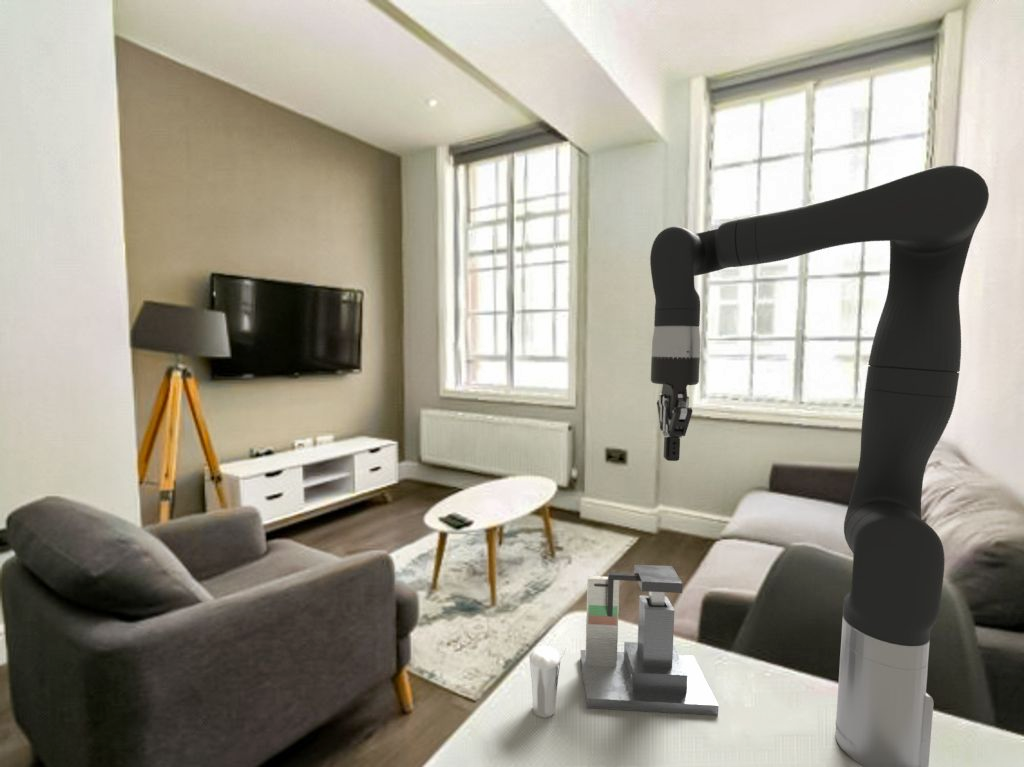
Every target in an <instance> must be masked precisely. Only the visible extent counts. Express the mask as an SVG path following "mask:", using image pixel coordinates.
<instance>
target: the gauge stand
mask: <svg viewBox="0 0 1024 767" xmlns="http://www.w3.org/2000/svg"><path fill="white" fill-rule="evenodd" d="M620 581H621V580H614V584H613V614H612V617H609V616H607V582H608V576H599V575H597V576H596V575H587V589H586V590H587V591H586V617H585V618H586V619H585V620H586V625H585V627H586V628H585V649H581V650H580V665H581V672H582V673H581V674H582V679H583V680H582V681H583V687H584V694H585V702H586V709H598V710H599V709H601V710H614V711H615V710H617V711H634V712H650V713H651V712H655V713H669V714H670V713H671V714H686V715H687V714H688V715H689V714H690V715H706V716H707V715H708V716H719V704H718V702H717V700H716V698H715V695H714V694H713V692H712V690H711V688H710V686H709V684H708V682H707V680H706V678H705V676H704V674H703V671H702V670H701V668H700V666H699V664H698V662H697V660H696V658H695V656H694V655H688V654H687V655H686V654H679V653H678V652H677V649H676V647H675V646H674V629H675V628H674V627H675V609H674V607H673V605H672V603H671V602H670V600H669V598H668V595H667V596H666V595H665V606H664V607H649V605H648V602H649V595H641V594H640V595H639V596H638V597H639V599H638V600H639V601H638V622H637V623H638V626H637V628H638V629H637V642H635V641H633V642H632V641H624V644H623V645H624V647H623V648H624V649H623V651H618V640H619V639H618V635H619V633H618V632H619V610H620V609H619V608H620V607H619V605H620Z"/></svg>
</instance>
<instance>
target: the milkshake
mask: <svg viewBox="0 0 1024 767" xmlns="http://www.w3.org/2000/svg"><path fill="white" fill-rule="evenodd" d="M566 650H567V648H565V649H564V651H563V653H562V655H561V654H560V652H558V650H557V649H555V648H554V647H551V646H549V645H539V646H535V647H534V648H533V649H532V651H530V654H529V665H530V666H529V667H530V668H529V669H530V677H531V690H532V691H531V693H532V710H533V711H532V712H533V713H534V714H535V715H536V716H537V717H540V718H545V719H546V718H550V717H552V716H553V715H554V713H555V712H556V705H557V693H558V685H559V684H558V682H559V675H560V670H561V669H560V668H561V660H562V658H563V656H564V655H565V652H566Z"/></svg>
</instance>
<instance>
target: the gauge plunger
mask: <svg viewBox="0 0 1024 767" xmlns="http://www.w3.org/2000/svg"><path fill="white" fill-rule="evenodd" d="M633 569H634V570H633V572H620V571H619V572H614V571H612V572H611V571H608V572H607V577H608V582H607V616H609V617H612V614H613V584H614V580H620V581H630V582H634V581H635V582H637V584H638V586H639V588H640V591H641V592H648V596H649V602H648V605H649V607H664V606H665V596H666V593H671V594H672V593H673V594H683V581H682V580H681V579H680V577H679V576H678V574H677V572H676V570H675V568H674V567H673V566H672V565H653V564H650V565H649V564H648V565H647V564H634V568H633Z"/></svg>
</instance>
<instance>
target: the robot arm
mask: <svg viewBox="0 0 1024 767" xmlns="http://www.w3.org/2000/svg"><path fill="white" fill-rule="evenodd" d="M989 197H990V195H989V187H988V184H987V183H986V181H985V179H984V178H983V176H981V175H980V174H979V173H978V172H976V171H975V170H973V169H971V168H968V167H965V166H961V165H955V164H952V165H951V164H950V165H949V164H947V165H939V166H933V167H930V168H926V169H924V170H920V171H917V172H915V173H912V174H909V175H905V176H902V177H900V178H897V179H894V180H891V181H888V182H885V183H882V184H879V185H876V186H874V187H869V188H867V189H864V190H861V191H860V190H859V191H856V192H854V193H849V194H846V195H843V196H839V197H835V198H831V199H828V200H824V201H823V200H822V201H820V202H816V203H811V204H807V205H803V206H797V207H793V208H788V209H787V208H786V209H783V210H777V211H771V212H767V213H760V214H755V215H750V216H745V217H739V218H736V219H735V218H734V219H732V220H727V221H725V222H723V223H721V224H720V225H719V226H718V228H716V229H711V230H706V231H702V232H692V231H691V230H689V229H687V228H685V227H681V226H678V225H677V226H670V227H667V228H665V229H663V230H661V232H659V233H658V235H656V237H655V239H654V241H653V242H652V246H651V249H650V256H649V257H650V258H649V260H650V264H649V265H650V273H651V274H650V275H651V280H652V287H653V288H652V289H653V292H654V297H655V305H654V322H653V323H654V324H653V325H654V326H653V327H654V328H653V335H652V340H651V360H650V361H651V363H650V366H651V367H650V382H651V383H652V384H656V385H662V388H661V394H658V399H657V400H656V401H657V402H656V407H657V413H658V420H659V429H660V431H662V432H661V434H662V436H663V438H664V439H663V458H664V459H665V460H666V461H668V462H677V461H679V460H680V452H681V451H680V449H681V448H680V447H681V439H682V438H683V437H685V436H686V433H687V432H688V427H689V424H690V421H691V417H692V415H693V408H692V407H691V406H690V397H689V396H688V390H687V387H688V386H696V385H697V384H699V383H700V382H699V380H700V366H701V365H700V361H701V332H700V327H701V326H700V324H701V320H700V318H701V298H700V295H699V293H698V291H697V290H696V287H695V277H696V276H701V275H702V276H703V275H705V274H710V273H714V272H718V271H721V270H725V269H728V268H738V267H746V266H747V267H749V266H754V265H761V264H768V263H773V262H774V263H775V262H780V261H784V260H788V259H792V258H797V257H799V256H803V255H806V254H810V253H813V252H816V251H820V250H825V249H828V248H833V247H840V246H843V245H849V244H857V243H865V242H889V253H890V254H889V277H888V279H889V280H888V289H887V293H886V294H887V295H886V297H885V302H884V305H883V308H882V312H881V314H880V318H879V320H878V323H877V326H876V330H875V334H874V337H873V341H872V345H871V347H870V348H871V350H870V354H869V359H868V366H867V370H866V378H865V379H866V380H865V388H864V394H863V395H864V396H863V397H864V398H863V409H862V420H861V429H860V430H861V431H860V432H861V434H860V451H859V452H860V454H859V461H858V462H859V463H858V467H857V471H856V472H857V473H856V477H855V480H854V484H853V487H852V491H851V495H850V499H849V503H848V505H847V510H846V513H845V517H844V522H843V533H844V539H845V542H846V544H847V546H848V548H849V550H850V551H851V552H852V553H853V558H852V573H851V583H850V584H851V585H850V591H849V592H848V593H847V594H846V595H845V597H844V598H843V607H842V624H841V641H840V655H839V668H838V669H839V670H838V671H839V672H838V686H837V700H836V701H837V702H836V716H835V731H834V733H835V735H834V736H835V739H836V742H837V743H838V746H839V747H840V748H841V749H842V750H843V752H844V753H845V754H846V755H848V756H849V757H850V758H851V759H852V760H854V761H855V762H856V763H859V764H860V765H862V766H864V767H930V766H929V765H930V754H931V753H930V752H931V739H932V726H933V716H934V715H933V713H934V703H935V702H934V699H933V697H932V696H931V695H930V694H929V693H928V692H927V684H928V682H927V681H928V669H929V668H928V667H929V654H930V641H931V631H932V628H933V627H934V626H935V624H936V622H937V620H938V617H939V615H940V606H941V599H942V592H943V584H944V575H945V561H946V560H945V551H944V550H945V549H944V546H943V543H942V540H941V538H940V536H939V535H938V533H937V532H936V531H935V530H934V528H933V527H931V525H930V524H928V523H927V522H926V521H924V520H923V519H922V497H923V496H922V495H923V484H924V483H923V481H924V477H925V472H926V467H927V465H928V462H929V460H930V457H931V455H932V454H933V452H934V450H935V449H936V446H937V445H938V443H939V442H940V439H941V437H942V435H943V434H944V432H945V430H946V428H947V426H948V423H949V421H950V419H951V417H952V414H953V409H954V407H955V403H956V399H957V398H956V396H957V392H958V391H957V390H958V385H959V378H960V370H961V361H962V357H961V356H962V327H961V313H960V288H961V283H962V277H963V274H964V273H963V272H964V269H965V265H966V261H967V257H968V253H969V249H970V246H971V243H972V240H973V237H974V234H975V231H976V229H977V226H978V225H979V223H980V221H981V220H982V218H983V216H984V214H985V212H986V209H987V206H988V204H989ZM689 406H690V407H689Z"/></svg>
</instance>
